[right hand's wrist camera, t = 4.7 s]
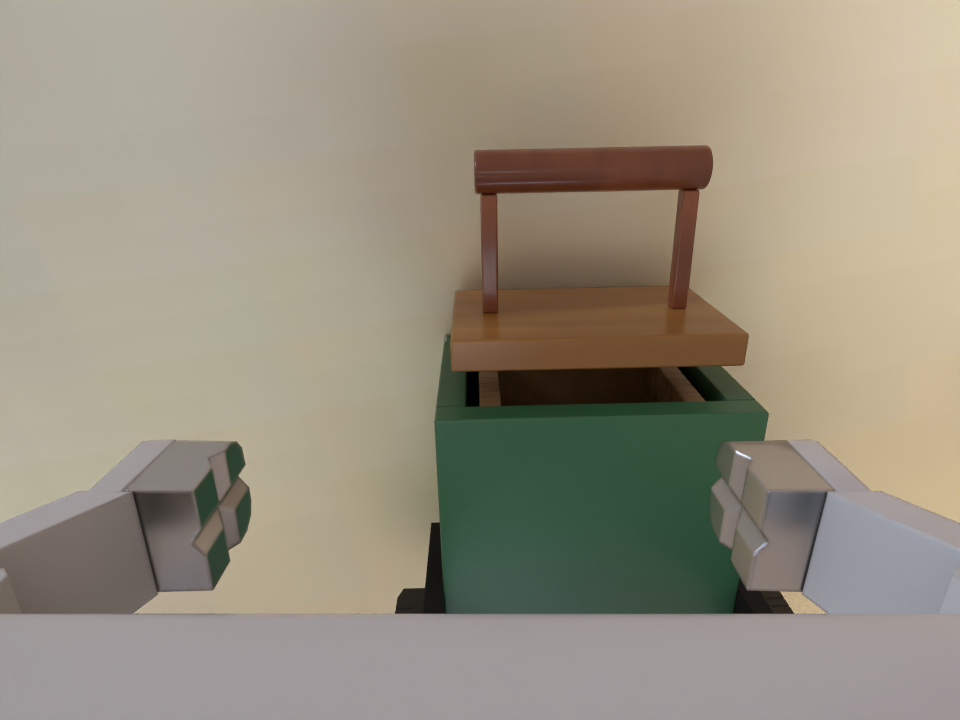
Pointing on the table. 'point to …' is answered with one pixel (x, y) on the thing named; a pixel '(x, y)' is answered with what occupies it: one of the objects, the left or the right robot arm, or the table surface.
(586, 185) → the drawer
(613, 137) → the table surface
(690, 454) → the green storage box
